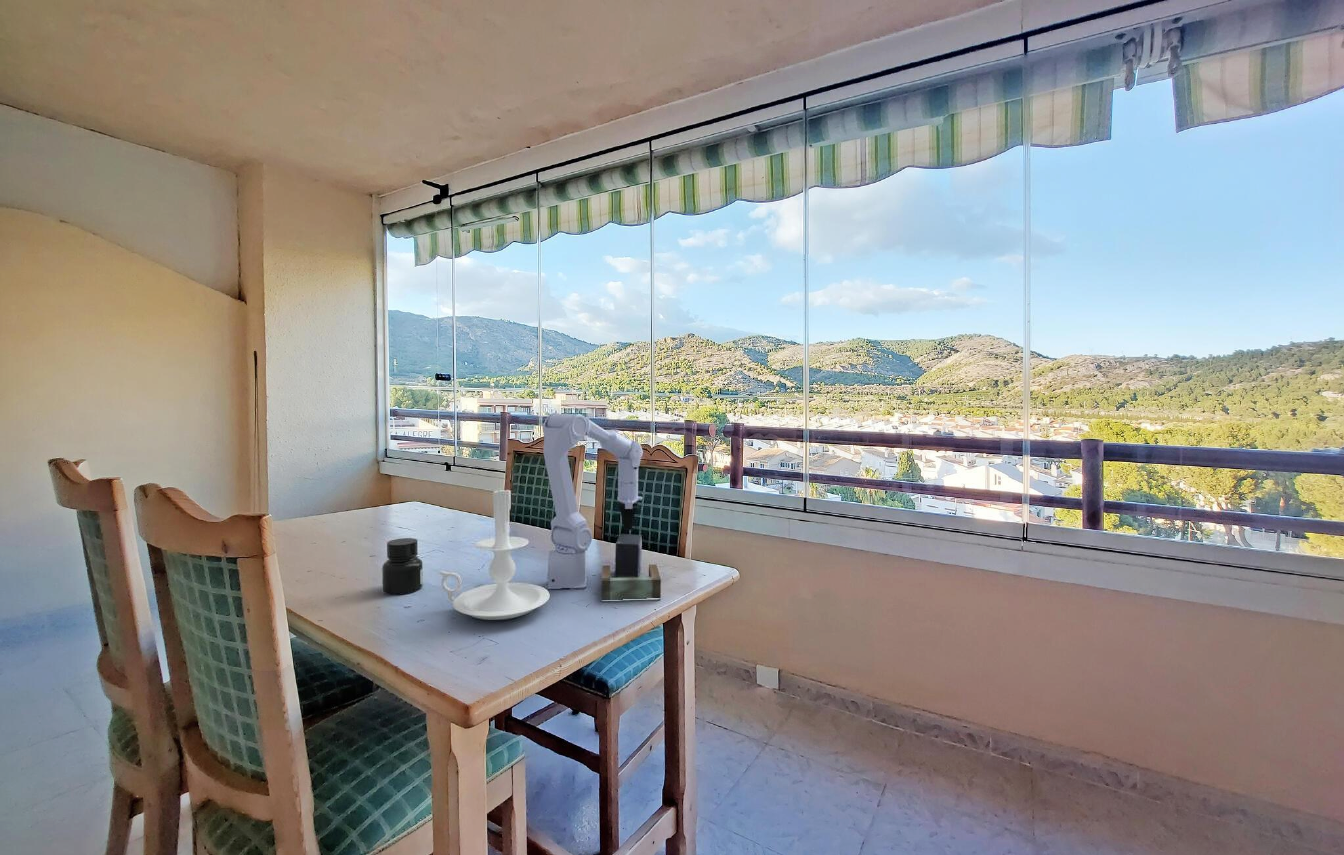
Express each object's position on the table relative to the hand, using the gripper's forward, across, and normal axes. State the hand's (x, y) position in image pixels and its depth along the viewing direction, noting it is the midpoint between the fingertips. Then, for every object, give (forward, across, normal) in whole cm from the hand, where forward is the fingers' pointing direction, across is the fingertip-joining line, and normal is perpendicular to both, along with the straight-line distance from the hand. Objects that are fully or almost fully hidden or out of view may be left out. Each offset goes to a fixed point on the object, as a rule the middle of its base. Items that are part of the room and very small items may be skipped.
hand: (627, 528), depth 159 cm
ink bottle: (+11, -17, +56) cm, 59 cm away
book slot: (+10, -23, 0) cm, 25 cm away
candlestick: (+11, -33, +31) cm, 47 cm away
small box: (+11, -11, 0) cm, 15 cm away
